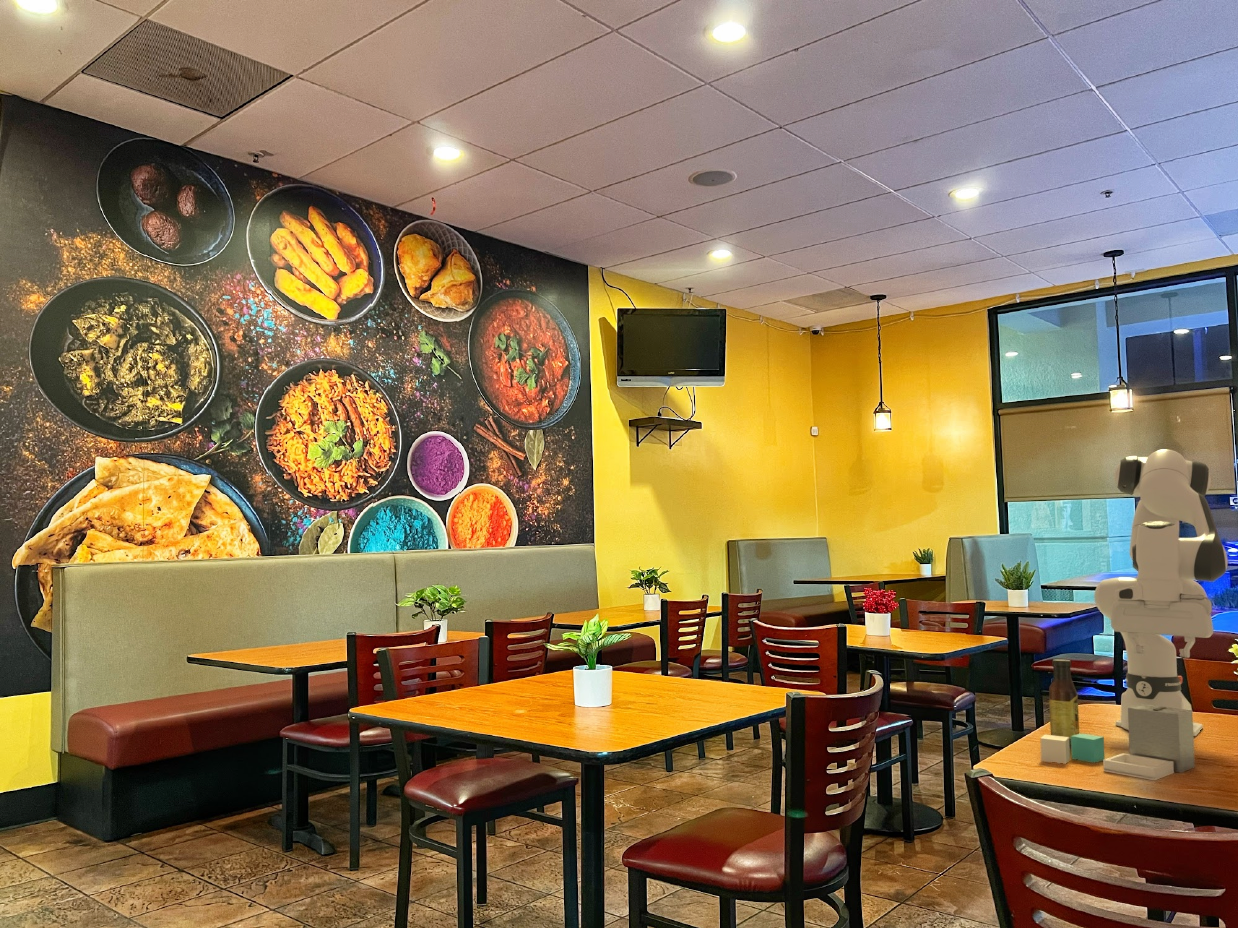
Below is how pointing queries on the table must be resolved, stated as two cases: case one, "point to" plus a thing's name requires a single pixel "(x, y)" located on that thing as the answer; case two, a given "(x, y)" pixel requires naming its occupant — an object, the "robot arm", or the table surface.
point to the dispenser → (1162, 734)
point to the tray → (1138, 766)
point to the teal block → (1087, 747)
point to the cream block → (1055, 749)
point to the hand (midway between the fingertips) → (1161, 655)
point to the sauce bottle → (1063, 701)
